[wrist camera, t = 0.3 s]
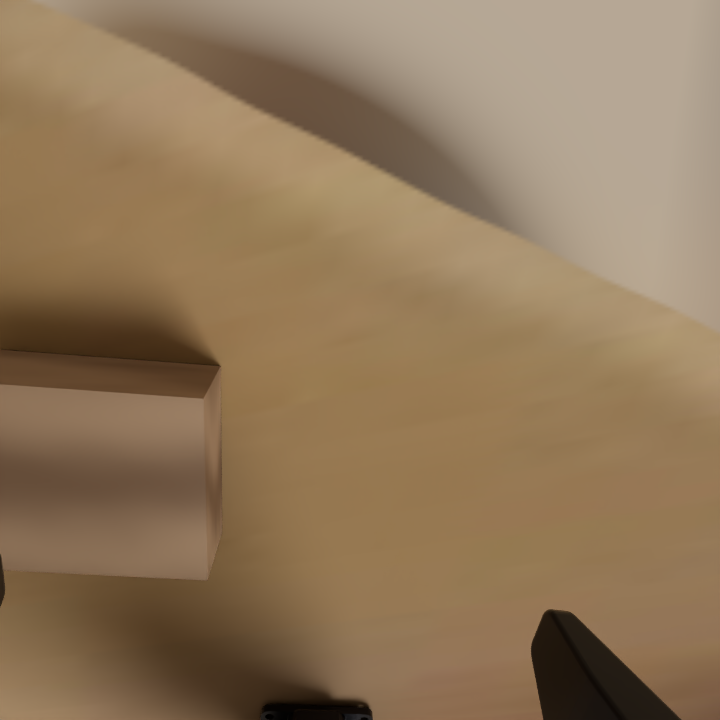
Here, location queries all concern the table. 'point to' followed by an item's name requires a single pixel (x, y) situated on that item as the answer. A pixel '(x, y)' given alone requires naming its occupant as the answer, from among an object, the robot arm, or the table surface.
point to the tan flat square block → (109, 466)
